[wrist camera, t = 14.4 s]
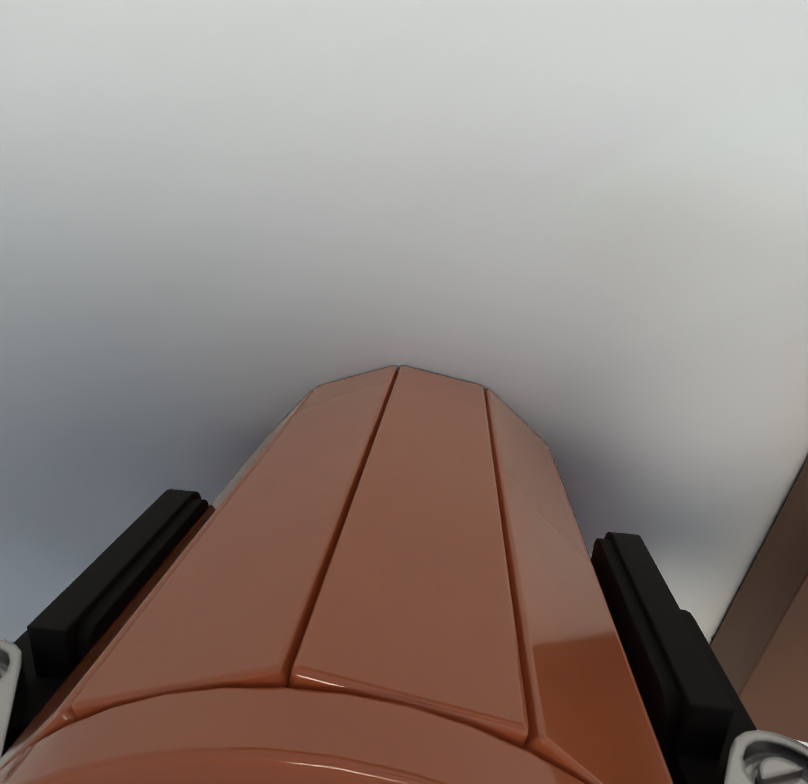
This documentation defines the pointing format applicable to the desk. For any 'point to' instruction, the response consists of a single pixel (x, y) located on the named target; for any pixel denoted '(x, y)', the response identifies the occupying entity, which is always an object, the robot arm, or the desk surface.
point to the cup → (364, 618)
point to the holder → (773, 625)
